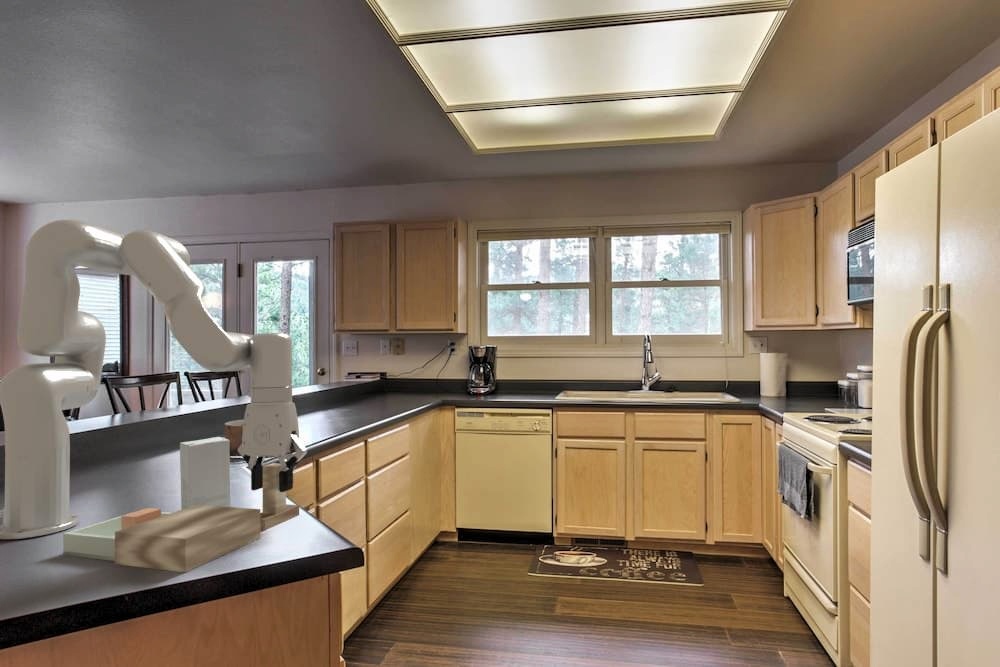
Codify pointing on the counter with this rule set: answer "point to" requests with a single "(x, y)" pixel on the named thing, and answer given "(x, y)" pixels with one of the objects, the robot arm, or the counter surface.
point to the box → (94, 540)
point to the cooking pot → (234, 436)
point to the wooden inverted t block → (274, 500)
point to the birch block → (186, 537)
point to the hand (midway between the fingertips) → (272, 488)
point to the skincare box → (205, 472)
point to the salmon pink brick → (139, 517)
